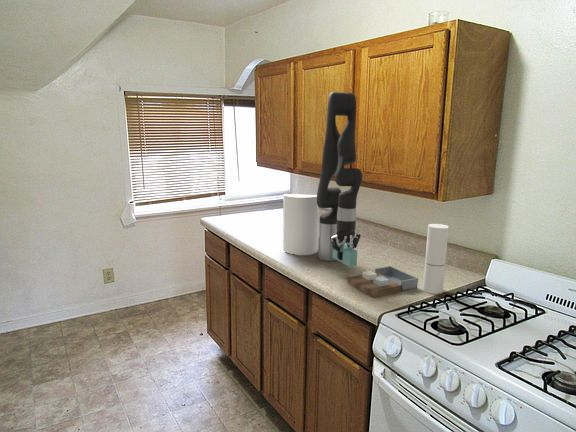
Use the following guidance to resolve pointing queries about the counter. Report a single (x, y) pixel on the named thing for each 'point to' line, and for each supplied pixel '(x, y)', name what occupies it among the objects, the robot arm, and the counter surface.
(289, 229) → the cylinder
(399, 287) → the board
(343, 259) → the mint green rectangular block
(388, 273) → the tray
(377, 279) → the blue tile
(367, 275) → the white tile
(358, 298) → the counter surface
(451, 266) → the counter surface
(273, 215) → the counter surface
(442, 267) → the cylindrical container
